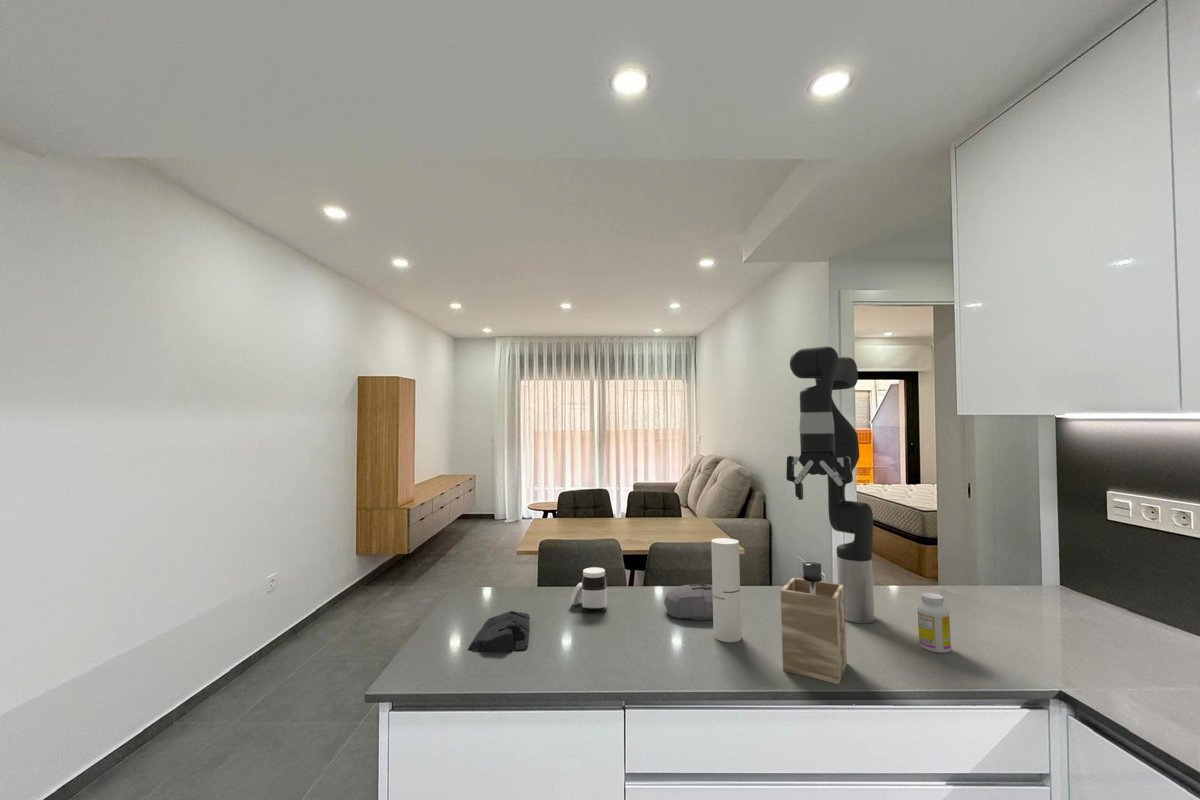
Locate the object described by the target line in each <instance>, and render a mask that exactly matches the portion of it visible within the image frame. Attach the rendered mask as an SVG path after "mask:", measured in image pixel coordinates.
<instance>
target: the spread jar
mask: <svg viewBox="0 0 1200 800" xmlns="http://www.w3.org/2000/svg"><path fill="white" fill-rule="evenodd" d="M605 575H606V569H604V568H603V567H595V566H593V567H587V568H584V569H583V570H582V580H581V582H578V584H577V585H576V586H575V587H574V588H573V591H572V593H571V596H570V603H571V604H572V605H574V606H577V605H578V604H580V603H581V608H582V610H583V611H585V612H586V611H587V613H592V612H593V613H601V612H604V611H606V609H607V605H608V603H607V602H608V600H607V599H608V596H607V594H608V593H607V585H608V584H607V578H606V576H605Z"/></svg>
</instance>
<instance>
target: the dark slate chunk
mask: <svg viewBox="0 0 1200 800" xmlns="http://www.w3.org/2000/svg"><path fill="white" fill-rule="evenodd" d="M530 619H531V617H530V614H529V613H527V612H520V611H514V610H511V611H507V612H504V613H501V614H499V615H495V616H493V617H490V618H488V619H487V620H486V621H485V623H484V624H483V626H482V627H481V628H480V630H479V631H478V632H477V634H476V635H474V639H473V640H472V641H471V643H470V644H469V646H468V650H469V651H472V653H491V654H495V653H496V654H498V653H510V652H518V651H525V650H527V649H528V646H529V645H528V644H529V643H530V641H529V639H530V628H531V627H530Z"/></svg>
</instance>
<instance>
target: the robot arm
mask: <svg viewBox="0 0 1200 800" xmlns="http://www.w3.org/2000/svg"><path fill="white" fill-rule="evenodd" d="M789 368H790V371H791V372H792V374H793V375H794V376H795V377H796V378H798V379H814V380H815V385H812V386H810V387H809V386H808V387H805V388H803V389H801V390H800V392H799V410H800V411H799V413H800V414H799V428H798V429H799V440H800V456H794V455H788V456H787V457H786V474H785V475H786V481H788V482H792V483H793V484H794V489H795V492H794V493H795V497H796V498H798V501H802V500H804V483H803V481H804V479H805V478H806V477H807V476H808V474H809V475H811V476H813V475H814V476H816V475H820V476H827V496H828V497H827V500H828V501H827V502H828V503H827V504H828V508H827V509H828V520H829V524H830V526H831V528H832V529H833V530H834V531H837V532H841V533H846V534H853V535H854V537H853V538H854V539H853V541H851V542H847V543H841V544H839V545H837V547H836V568H837V570H836V571H837V572H836V573H837V584H841V585H844V604H845V621H847V622H852V623H855V624H870V623H871V624H872V623H873V622H875V598H874V578H873V575H874V573H873V548H874V513H873V509H872V508H871V505H869V504H868V503H866V502H861V501H854V500H853V501H850V500H846V485H848V484H851V483H852V482H853V481H854V479H853V478H854V477H853V471H854V469H855V468H856V466H857V464H858V462H859V459H860V447H859V445H860V444H859V437H858V433H857V431H856V429H855V427H854V426H853V425H852V424H851V423H850V421H849V420H848V419H846V417H845V416H844V415H843V414H842V412H841V411H840V410H839V408H838V407H837V405H836V404H835V402H834V399H833V398H832V397H833V396H832V395H833V391H835V390H836V391H838V390H849V389H852V388H854V387H855V386H856V385H857V383H858V379H859V374H858V373H859V372H858V371H859V370H858V366H857V362H856V361H855V360H854V359H853V358H851V357H850V356H849V357H847V356H846V357H845V356H841V357H839V355H838V352H837V351H836V349H835V348H833V347H832V346H820V347H810V348H809V347H808V348H800V349H797V350H795V351H794V352H793V354H792V355H791V357H790V360H789ZM798 463H800V465H801V466H802V467H803V468H802V469H801V470H800V472H799V473H798V475H797V476H795V466H796V465H797V464H798Z"/></svg>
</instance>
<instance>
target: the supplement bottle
mask: <svg viewBox="0 0 1200 800" xmlns="http://www.w3.org/2000/svg"><path fill="white" fill-rule="evenodd" d="M920 597H921V598H920V599H921V601H922V602H921V603H919V604H918V605H917V609H916V610H917V625H918V641H919V642H918V643H919V646H920V647H921V648H923V649H925V650H926V651H929V652H933V653H937V654H944V653H945V654H946V653H949V652H951V650H952V641H951V626H950V625H951V624H950V623H951V621H950V612H949V609H948V608H947V607H946V606H944V601H945V600H944V596H943V595H941V594H938V593H933V592H922V593H921V595H920Z"/></svg>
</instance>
